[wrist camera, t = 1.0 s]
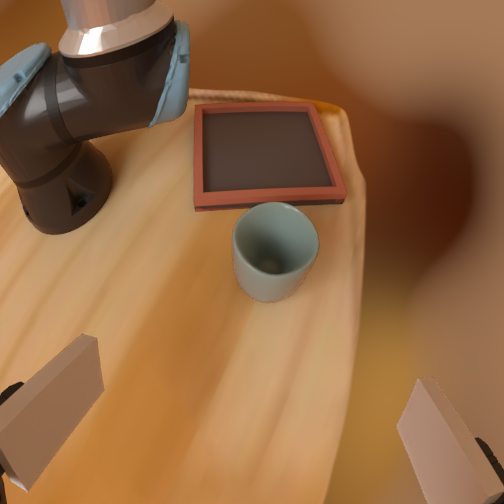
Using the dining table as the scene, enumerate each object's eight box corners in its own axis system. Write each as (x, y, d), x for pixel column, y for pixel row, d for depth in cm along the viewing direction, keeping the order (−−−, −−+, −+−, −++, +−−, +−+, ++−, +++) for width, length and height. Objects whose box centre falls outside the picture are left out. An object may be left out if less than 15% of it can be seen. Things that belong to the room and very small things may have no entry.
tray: (196, 115, 49) (195, 105, 47) (310, 113, 51) (313, 102, 49) (195, 211, 40) (193, 201, 38) (342, 203, 42) (347, 193, 40)
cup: (220, 269, 37) (216, 224, 28) (274, 238, 39) (285, 188, 30) (257, 323, 34) (265, 294, 25) (312, 287, 37) (336, 249, 28)
